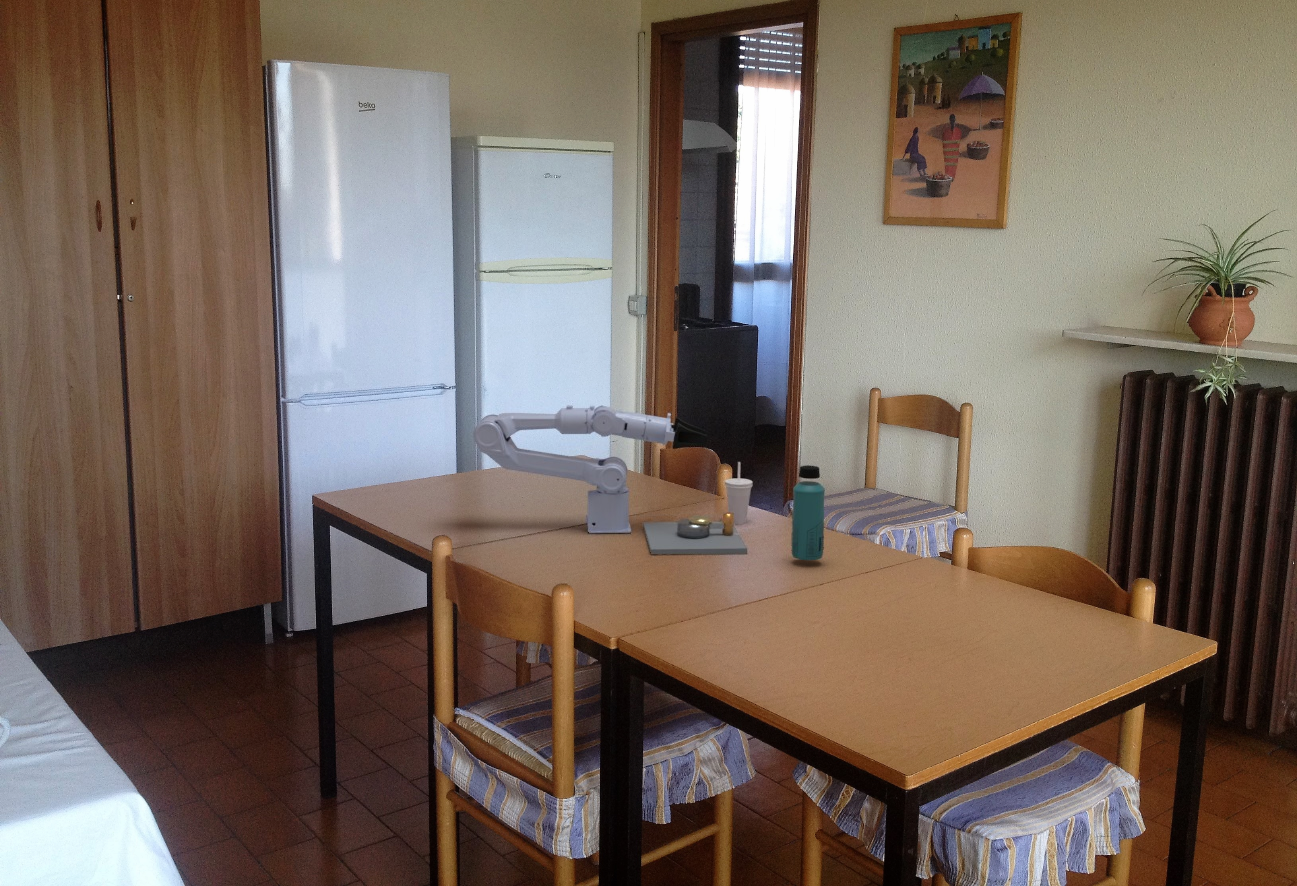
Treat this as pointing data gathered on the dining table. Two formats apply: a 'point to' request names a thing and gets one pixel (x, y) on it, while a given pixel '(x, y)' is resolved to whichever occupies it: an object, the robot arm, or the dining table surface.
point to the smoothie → (738, 497)
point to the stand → (691, 541)
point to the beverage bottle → (808, 516)
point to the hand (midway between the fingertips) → (706, 437)
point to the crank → (704, 525)
